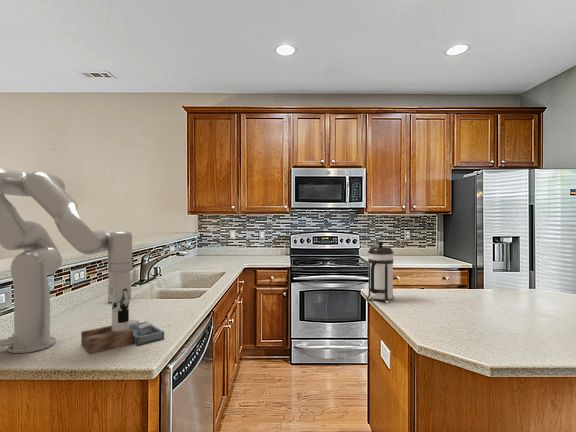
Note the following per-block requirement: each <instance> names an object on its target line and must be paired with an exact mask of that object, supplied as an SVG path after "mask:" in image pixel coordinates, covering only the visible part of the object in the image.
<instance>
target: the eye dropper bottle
mask: <svg viewBox="0 0 576 432" xmlns="http://www.w3.org/2000/svg"><path fill="white" fill-rule="evenodd" d="M120 301H124V299H122V300H120ZM122 304H124V303H121V306H122ZM118 311H119V305H118V303H117V307H115V308H113V309H112V308H111V325H112V331H113V332H116V333H117V332H121V331H126V330H129V320H130V319H129V320H128V322H123V323H118Z"/></svg>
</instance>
